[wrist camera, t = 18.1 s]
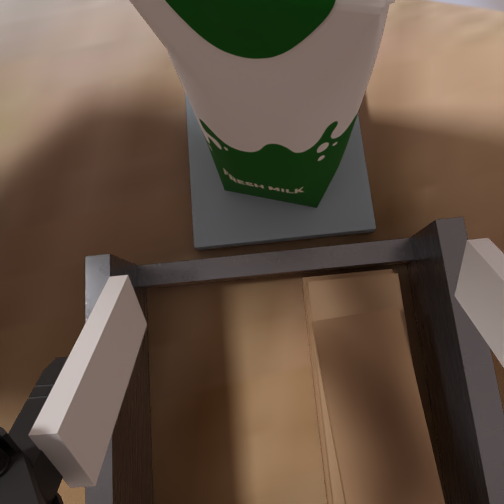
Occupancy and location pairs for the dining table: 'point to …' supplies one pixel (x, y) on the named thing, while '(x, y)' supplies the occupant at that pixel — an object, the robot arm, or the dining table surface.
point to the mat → (275, 201)
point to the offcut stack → (367, 392)
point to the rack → (431, 339)
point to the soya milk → (272, 84)
